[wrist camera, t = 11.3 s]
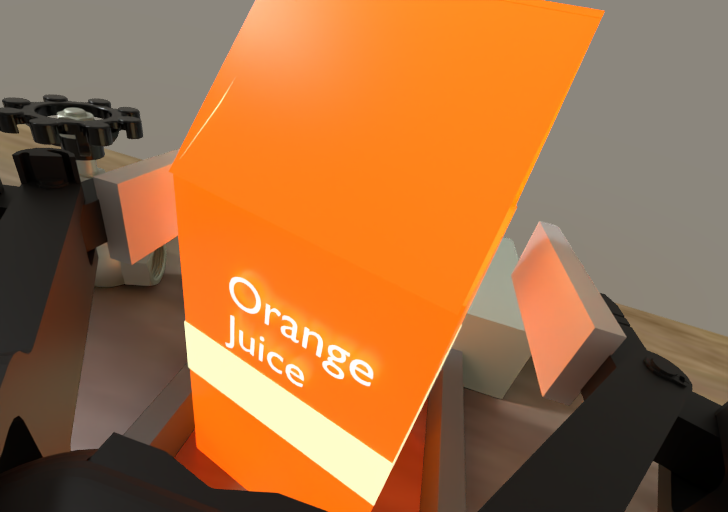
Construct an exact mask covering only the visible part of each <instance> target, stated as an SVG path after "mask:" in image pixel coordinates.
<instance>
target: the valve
mask: <svg viewBox="0 0 728 512" xmlns="http://www.w3.org/2000/svg"><path fill="white" fill-rule="evenodd" d="M43 100H44V102H30V101H29V100H27V99H23V98H4V99H3V100H2V102H3V105H4V108H0V131H2V132H5V133H19V131H18V128H17V124H26V125H27V126H29V127H30V129H31V133H32V136H33V140H34V141H35V142H36V143H39V144H48V145H51V144H52V145H55V146H60V147H61V149H62V150H66V151H69V152H71V153H73V154H74V155H75V159H76V163H77V167H78V172H79V176H80V180H81V182H82V181H85V180H88V179H91V178H93V177H94V176H97V175H100V174H103V173H105V171H104V169H101V168H97V163H96V160H97V159H100V158H102V157H104V155H105V153H104V147H103V146H109V145H112V143H113V142H114V141H115V139H116V138H117V137H118V134H119V131H120V130H126V133H127V138H129V139H139V138H142V137H143V131H142V123H141V120H140V112H139V110H138V109H135V108H131V107H120V108H118V109H113V108H111V103H110V102H109V101H108V100H104V99H89V100H88V102H87V103H86V102H85V103H84V102H72V101H68V99H67V98H66V97H65V96H61V95H44V96H43ZM51 115H58V119H56V118H50V117H46V116H51ZM94 117H98V118H102V119H103V120H94ZM96 249H97V253H98V257H99V259H98V266H97V272H96V279H95V285H94V286H98V287H113V286H118V285H122V284H129V285H142V286H152V285H156V284H158V283H159V282H160V280H161V279H162V276H163V274H164V270H165V266H166V257H167V253H166V245H165V244H164V245H162V246H161V247H159V248H158V249H156V250H154V251H153V252H151V253H150V254H148V255H147V256H145V257H143V258H142V259H140V260H139V261H137V262H136V263H134V264H132V265H130V264H127V263H124V262H121V261H118V260H114V259H111V258H110V255H109V250H108V245H107V242H106V243H104V244H102V245H100V246H98V247H96Z"/></svg>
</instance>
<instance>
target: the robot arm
mask: <svg viewBox="0 0 728 512" xmlns="http://www.w3.org/2000/svg"><path fill="white" fill-rule="evenodd" d="M179 150H180V148H179V149H176V150H173V151H170V152H167V153H164V154H161V155H158V156H155V157H152V158H149V159H146V160H143V161H139V162H136V163H133V164H130V165H127V166H124V167H121V168H118V169H115V170H112V171H109V172H106V173H103V174H100V175H97V176H94V177H93V178H91V179H88V180H85V181H82V182H81V180H80V176H79V172H78V167H77V163H76V159H75V155H74V154H73V153H71V152H69V151H66V150H62V149H54V148H33V149H25V150H21V151H18V152H16V153H14V154H13V155H12V156H13V159H14V162H15V165H16V168H17V171H18V174H19V177H20V180H21V186H20V187H17V186H9V185H2V182H1V179H0V512H328V511H326V510H323V509H320V508H318V507H315V506H312V505H309V504H307V503H304V502H301V501H299V500H296V499H293V498H290V497H288V496H285V495H282V494H280V493H274V492H257V491H240V490H223V489H214V488H211V487H209V486H207V485H206V484H205V483H203V482H202V481H201V480H200V479H198V478H197V477H196V476H195V475H194V474H192V473H191V472H190V471H189V470H188V469H186V468H185V467H184V466H183V465H181V464H180V463H179V462H178V461H177V460H175V459H174V458H173V457H172V456H171V455H169V454H168V453H167V452H166V451H163V450H161V449H158V448H155V447H152V446H150V445H147V444H144V443H142V442H139V441H136V440H134V439H131V438H128V437H125V436H123V435H120V434H117V433H115V432H114V433H113V434H112V435H111V436H110V437H109V438H108V439H107V440H106V441H105V443H104V444H103V445H102V446H101V447H100V448H99V449H88V450H75V451H70V443H71V434H72V428H73V421H74V415H75V408H76V402H77V395H78V389H79V382H80V376H81V369H82V363H83V356H84V350H85V343H86V337H87V330H88V324H89V317H90V311H91V304H92V298H93V291H94V285H95V279H96V272H97V266H98V259H99V257H98V253H97V249H96V247H98V246H100V245H102V244H104V243H106V242H107V245H108V250H109V255H110V258H111V259H114V260H118V261H121V262H124V263H127V264H130V265H132V264H134V263H136V262H137V261H139V260H140V259H142V258H143V257H145V256H147V255H148V254H150V253H151V252H153V251H154V250H156V249H158V248H159V247H161V246H162V245H164V244H165V243H167V242H168V241H170V240H172V239H173V238H175V237H176V236H178V226H177V214H176V203H175V191H174V180H173V174H172V173H170V172H169V170H170V168H171V166H172V164H173V162H174V160H175V158H176V156H177V154H178V152H179ZM511 277H512V281H513V285H514V289H515V293H516V297H517V301H518V304H519V308H520V312H521V316H522V320H523V324H524V328H525V332H526V335H527V339H528V343H529V347H530V351H531V355H532V359H533V363H534V366H535V370H536V374H537V378H538V382H539V386H540V390H541V393H542V397H543V398H547V399H550V400H553V401H556V402H559V403H562V404H565V405H568V406H570V404H571V403H572V402H573V401H574V400H575V398H576V397H577V396H578V395H579V394H580V392H581V393H582V396H583V399H584V402H583V403H582V404H581V405H580V406H579V407H578V408H577V409H576V410H575V411H574V412H573V413H572V414H571V415H570V417H569V418H568V419H567V420H566V421H565V422H564V423H563V424H562V425H561V426H560V427H559V428H558V429H557V430H556V431H555V432H554V433H553V434H552V435H551V436H550V437H549V438H548V439H547V440H546V441H545V442H544V443H543V444H542V446H541V447H540V448H539V449H538V450H537V451H536V452H535V453H534V454H533V455H532V456H531V457H530V458H529V459H528V460H527V461H526V462H525V463H524V464H523V465H522V466H521V467H520V468H519V469H518V470H517V471H516V472H515V473H514V475H513V476H512V477H511V478H510V479H509V480H508V481H507V482H506V483H505V484H504V485H503V486H502V487H501V488H500V489H499V490H498V491H497V492H496V493H495V494H494V495H493V496H492V497H491V498H490V499H489V500H488V501H487V502H486V504H485V505H484V506H483V507H482V508H481V509H480V510H479V511H478V512H624V511H625V510H626V508H627V506H628V504H629V502H630V501H631V499H632V497H633V495H634V494H635V492H636V490H637V488H638V486H639V485H640V483H641V481H642V479H643V477H644V476H645V474H646V472H647V470H648V469H649V467H650V465H651V463H652V461H655V462H656V463H658V464H659V469H658V512H728V401H727V402H726V403H725V404H724V405H723V406H721V405H719V404H717V403H715V402H713V401H711V400H709V399H707V398H705V397H703V396H701V395H698V394H696V393H694V392H692V383H691V382H690V380H689V378H688V377H687V376H686V375H685V374H684V373H683V372H682V371H681V370H680V369H679V368H678V367H677V366H675V365H674V364H673V363H671V362H670V361H668V360H667V359H665V358H663V357H661V356H659V355H658V354H655V353H652V352H650V351H647V350H646V348H645V347H644V345H643V344H642V342H641V341H640V339H639V338H638V336H637V335H636V333H635V332H634V330H633V329H632V327H630V324H629V323H628V321H627V319H626V318H624V315H623V313H622V312H621V310H620V309H619V307H618V306H617V305H616V304H615V303H614V302H613V301H612V300H611V299H609V298H608V297H607V296H606V295H605V294H602V293H599V291H598V290H597V288H596V287H595V285H594V283H593V282H592V280H591V278H590V277H589V275H588V274H587V272H586V270H585V269H584V267H583V265H582V264H581V262H580V261H579V259H578V257H577V256H576V254H575V253H574V251H573V249H572V248H571V246H570V244H569V243H568V241H567V240H566V238H565V236H564V235H563V233H562V231H561V230H560V228H559V227H558V226H556V225H552V224H549V223H545V222H542V221H539V223H538V225H537V227H536V228H535V231H534V232H533V234H532V236H531V238H530V240H529V242H528V244H527V246H526V248H525V250H524V251H523V253H522V255H521V257H520V259H519V261H518V263H517V265H516V267H515V268H514V270H513V272H512V274H511Z"/></svg>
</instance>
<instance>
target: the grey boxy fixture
mask: <svg viewBox="0 0 728 512" xmlns="http://www.w3.org/2000/svg"><path fill="white" fill-rule="evenodd" d="M518 261H519V259H518V256H517V253H516V249H515V246H514V243H513V240H512V239H509V238H505V237H503V238H502V240H501V242H500V244H499V246H498V248H497V250H496V252H495V254H494V257H493V259H492V261H491V263H490V265H489V267H488V269H487V271H486V273H485V275H484V278H483V280H482V282H481V284H480V286H479V288H478V290H477V292H476V294H475V296H474V299H473V301H472V303H471V305H470V307H469V309H468V311H467V313H466V315H465V317H464V319H463V322H462V324H461V325H462V326H461V328H460V330H459V332H458V334H457V336H456V338H455V341H454V343H453V345H452V347H451V348H452V349H450V351H449V353H448V354H449V355H447V357H446V359H445V361H444V363H443V366H442V368H441V369H442V370H440V372H439V374H438V376H437V378H436V380H435V382H434V384H433V386H432V388H431V390H430V392H429V397H428V410H427V423H426V435H425V448H424V461H423V473H422V486H421V499H420V512H466V484H465V443H464V402H463V387H465V388H468V389H471V390H474V391H477V392H481V393H484V394H487V395H490V396H493V397H496V398H499V399H502V398H503V397H504V395H505V394H506V392H507V391H508V389H509V388H510V386H511V385H512V383H513V382H514V380H515V379H516V377H517V375H518V374H519V372H520V371H521V369H522V368H523V366H524V365H525V363H526V362H527V360H528V359H529V357H530V356H531V351H530V347H529V343H528V339H527V335H526V332H525V328H524V324H523V320H522V316H521V312H520V308H519V304H518V301H517V297H516V293H515V289H514V285H513V281H512V277H511V274H512V272H513V270H514V268H515V267H516V265H517V263H518ZM471 307H472V308H471ZM194 429H195V421H194V410H193V398H192V387H191V375H190V368H188V362H187V363H186V364H185V366H184V367H183V368H182V369H181V370H180V371H179V372H178V373H177V375H176V376H175V377H174V378H173V379H172V380H171V381H170V383H169V384H168V385H167V386H166V387H165V388H164V389H163V390H162V392H161V393H160V394H159V395H158V396H157V397H156V398H155V400H154V401H153V402H152V403H151V404H150V405H149V406H148V407H147V409H146V410H145V411H144V412H143V413H142V414H141V415H140V417H139V418H138V419H137V420H136V421H135V422H134V423H133V425H132V426H131V427H130V428H129V429H128V430H127V431H126V432H125V434H124V435H123V436H125V437H128V438H131V439H134V440H136V441H139V442H142V443H144V444H147V445H150V446H152V447H155V448H158V449H161V450H163V451H166V452H167V453H168V454H169V455H171V456H172V457H173V458H174V457H175V456H176V454H177V453H178V451H179V450H180V448H181V447H182V446H183V444H184V443H185V441H186V440H187V438H188V437H189V436H190V434H191V433H192V431H193V430H194Z"/></svg>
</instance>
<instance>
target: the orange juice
mask: <svg viewBox="0 0 728 512" xmlns="http://www.w3.org/2000/svg"><path fill="white" fill-rule="evenodd" d="M604 12H605V11H601V10H596V9H591V8H584V7H579V6H573V5H567V4H561V3H555V2H550V1H544V0H256V1H255V3H254V5H253V7H252V8H251V10H250V13H249V15H248V16H247V18H246V20H245V22H244V24H243V26H242V28H241V30H240V32H239V34H238V36H237V38H236V40H235V42H234V44H233V46H232V48H231V50H230V52H229V54H228V56H227V58H226V60H225V62H224V64H223V65H222V67H221V69H220V71H219V73H218V75H217V77H216V80H215V81H214V83H213V85H212V87H211V89H210V91H209V93H208V95H207V97H206V99H205V101H204V103H203V105H202V107H201V109H200V111H199V113H198V115H197V117H196V119H195V120H194V122H193V124H192V126H191V128H190V130H189V133H188V134H187V137H186V138H185V140H184V142H183V144H182V146H181V148H180V150H179V152H178V154H177V156H176V158H175V160H174V162H173V164H172V166H171V168H170V170H169V172H170V173H172V174H173V180H174V191H175V203H176V214H177V226H178V237H179V249H180V260H181V272H182V283H183V295H184V306H185V318H186V321H184V325H185V336H186V347H187V359H188V368H190V375H191V387H192V398H193V410H194V421H195V433H196V444H197V448H198V449H199V450H200V451H202V452H203V453H204V454H205V455H206V456H207V457H209V458H210V459H211V460H212V461H213V462H215V463H216V464H217V465H218V466H219V467H220V468H222V469H223V470H224V471H225V472H226V473H228V474H229V475H230V476H231V477H232V478H233V479H235V480H236V481H237V482H238V483H239V484H241V485H242V486H243V487H244V488H245V489H246V490H248V491H257V492H274V493H280V494H282V495H285V496H288V497H290V498H293V499H296V500H299V501H301V502H304V503H307V504H309V505H312V506H315V507H318V508H320V509H323V510H326V511H328V512H371V510H372V508H373V506H374V504H375V502H376V500H377V498H378V496H379V494H380V492H381V490H382V488H383V486H384V484H385V482H386V480H387V478H388V476H389V474H390V472H391V470H392V468H393V466H394V464H395V462H396V460H397V457H398V455H399V453H400V451H401V449H402V447H403V445H404V443H405V441H406V439H407V437H408V435H409V433H410V431H411V429H412V427H413V425H414V423H415V421H416V419H417V417H418V415H419V413H420V410H421V408H422V406H423V404H424V402H425V400H426V398H427V396H428V394H429V392H430V390H431V388H432V386H433V384H434V382H435V380H436V378H437V376H438V374H439V372H440V370H442V369H441V368H442V366H443V363H444V361H445V359H446V357H447V355H449V354H448V353H449V351H450V349H452V348H451V347H452V345H453V343H454V341H455V338H456V336H457V334H458V332H459V330H460V328H461V326H462V325H461V324H462V322H463V319H464V317H465V315H466V313H467V311H468V309H469V307H470V305H471V303H472V301H473V299H474V296H475V294H476V292H477V290H478V288H479V286H480V284H481V282H482V280H483V278H484V275H485V273H486V271H487V269H488V267H489V265H490V263H491V261H492V259H493V257H494V254H495V252H496V250H497V248H498V246H499V244H500V242H501V240H502V238H503V236H504V233H505V231H506V229H507V227H508V225H509V223H510V221H511V219H512V217H513V215H514V213H515V210H516V208H517V206H516V204H517V201H518V199H519V197H520V195H521V193H522V190H523V188H524V186H525V184H526V182H527V179H528V177H529V175H530V173H531V171H532V169H533V166H534V164H535V162H536V160H537V158H538V156H539V153H540V151H541V149H542V146H543V144H544V142H545V140H546V138H547V136H548V134H549V131H550V129H551V127H552V125H553V123H554V121H555V118H556V116H557V114H558V112H559V110H560V108H561V105H562V103H563V101H564V99H565V97H566V94H567V92H568V90H569V88H570V86H571V84H572V81H573V79H574V77H575V75H576V73H577V70H578V68H579V66H580V64H581V62H582V60H583V57H584V55H585V53H586V51H587V49H588V46H589V44H590V42H591V40H592V37H593V35H594V33H595V31H596V29H597V27H598V25H599V22H600V20H601V18H602V16H603V14H604ZM471 308H472V307H471Z"/></svg>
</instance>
